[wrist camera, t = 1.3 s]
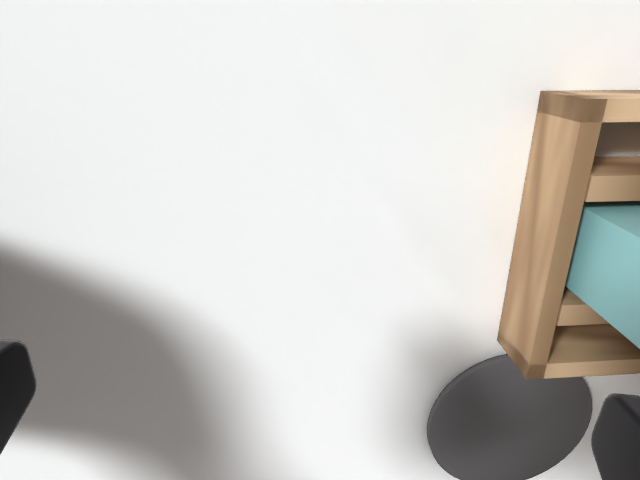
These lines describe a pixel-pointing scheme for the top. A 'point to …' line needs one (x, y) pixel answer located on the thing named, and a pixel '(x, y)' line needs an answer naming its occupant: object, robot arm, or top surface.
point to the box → (566, 239)
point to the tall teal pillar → (609, 264)
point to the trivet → (506, 422)
